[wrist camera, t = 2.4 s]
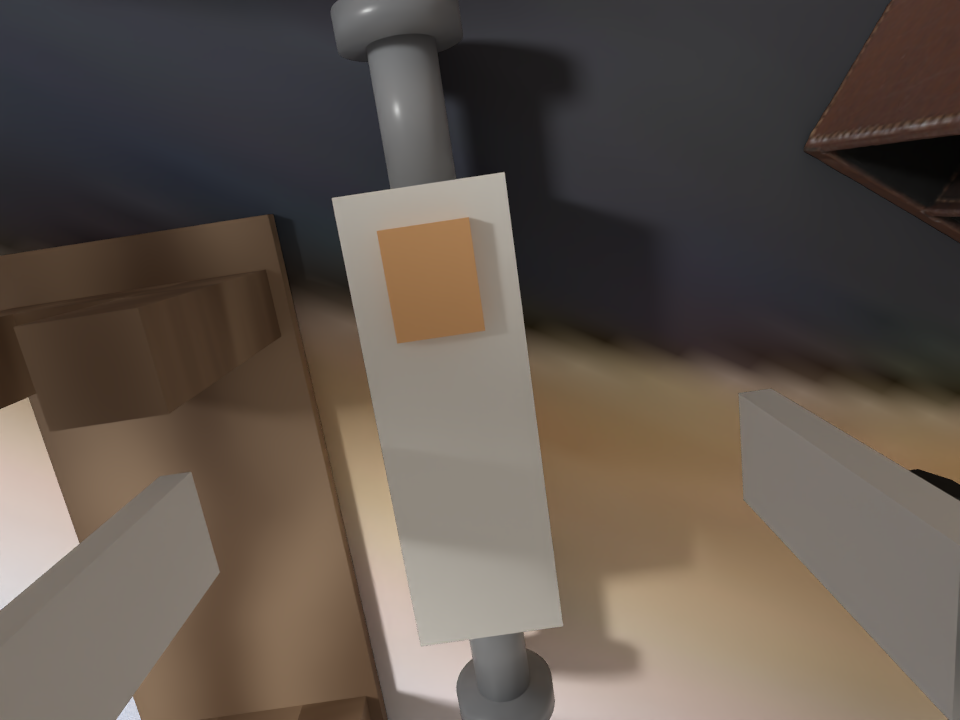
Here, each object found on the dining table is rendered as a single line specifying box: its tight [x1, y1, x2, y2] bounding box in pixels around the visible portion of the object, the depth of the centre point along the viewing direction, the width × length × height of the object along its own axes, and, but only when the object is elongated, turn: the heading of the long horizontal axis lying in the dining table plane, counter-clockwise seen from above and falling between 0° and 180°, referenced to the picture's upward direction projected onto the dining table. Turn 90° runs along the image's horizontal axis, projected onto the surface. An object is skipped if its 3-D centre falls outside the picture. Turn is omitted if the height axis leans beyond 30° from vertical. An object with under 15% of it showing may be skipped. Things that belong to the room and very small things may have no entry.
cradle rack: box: [0, 214, 388, 720], centre depth 20 cm, size 10×24×9 cm, turn 8°
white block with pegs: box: [331, 0, 563, 720], centre depth 20 cm, size 5×24×6 cm, turn 8°
